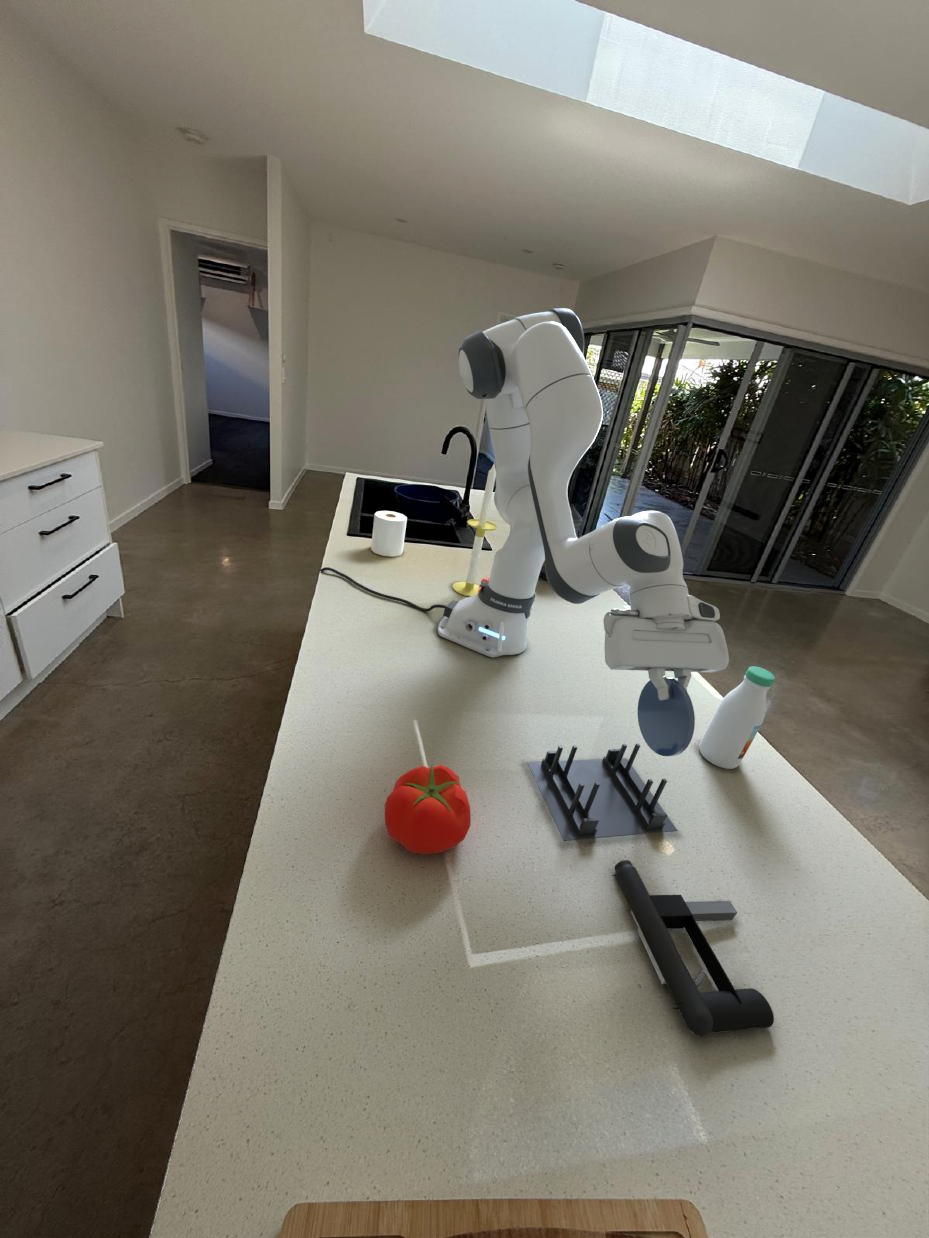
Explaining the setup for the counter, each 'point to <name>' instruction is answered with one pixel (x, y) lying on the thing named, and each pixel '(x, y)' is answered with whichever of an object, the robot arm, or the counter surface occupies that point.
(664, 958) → the door handle
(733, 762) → the milk bottle
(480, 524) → the candle
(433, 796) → the tomato
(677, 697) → the plate
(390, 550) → the toilet paper
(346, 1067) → the counter surface
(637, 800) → the rack
